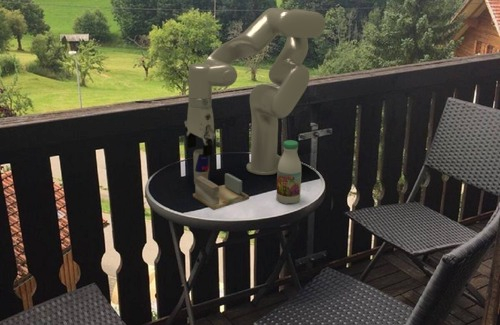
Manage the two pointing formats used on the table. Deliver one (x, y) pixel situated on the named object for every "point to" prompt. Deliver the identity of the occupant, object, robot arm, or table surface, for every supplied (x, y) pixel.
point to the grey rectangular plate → (233, 184)
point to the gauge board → (223, 197)
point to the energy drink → (200, 164)
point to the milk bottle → (289, 174)
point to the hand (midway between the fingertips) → (199, 151)
